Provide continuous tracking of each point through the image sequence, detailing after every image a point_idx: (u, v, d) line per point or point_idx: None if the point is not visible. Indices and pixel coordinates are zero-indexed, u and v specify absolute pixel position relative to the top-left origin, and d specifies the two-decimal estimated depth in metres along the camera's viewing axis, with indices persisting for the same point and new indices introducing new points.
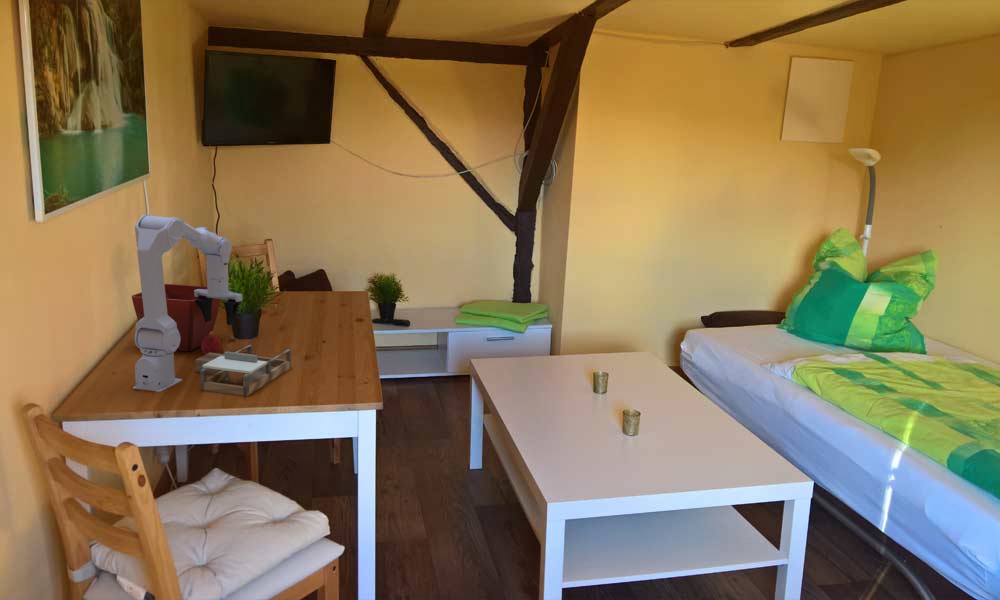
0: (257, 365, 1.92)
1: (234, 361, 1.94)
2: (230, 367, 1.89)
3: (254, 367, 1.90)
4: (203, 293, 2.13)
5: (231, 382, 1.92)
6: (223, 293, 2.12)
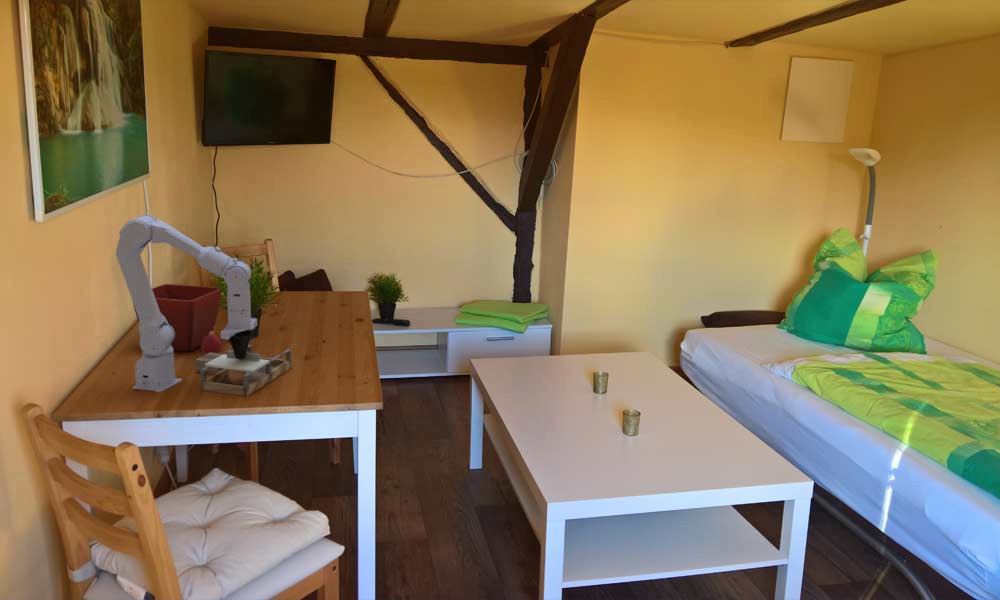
0: (259, 364, 1.93)
1: (236, 360, 1.95)
2: (232, 365, 1.90)
3: (256, 366, 1.91)
4: None
5: (231, 382, 1.92)
6: (229, 326, 1.90)
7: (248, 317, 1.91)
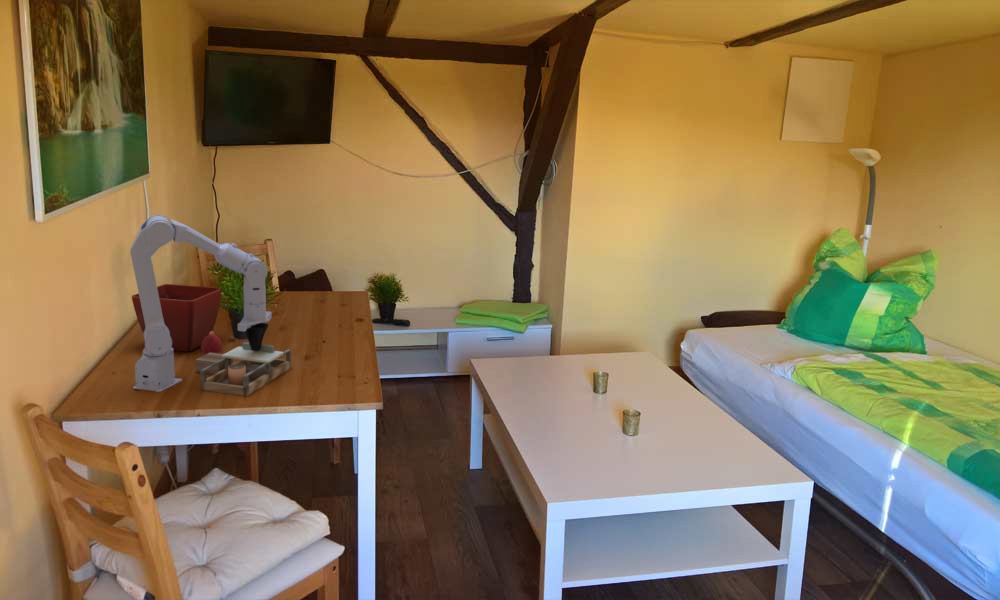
0: (274, 355, 2.00)
1: (252, 351, 2.02)
2: (248, 356, 1.98)
3: (271, 357, 1.99)
4: None
5: (231, 382, 1.92)
6: (245, 319, 1.98)
7: (263, 310, 1.99)
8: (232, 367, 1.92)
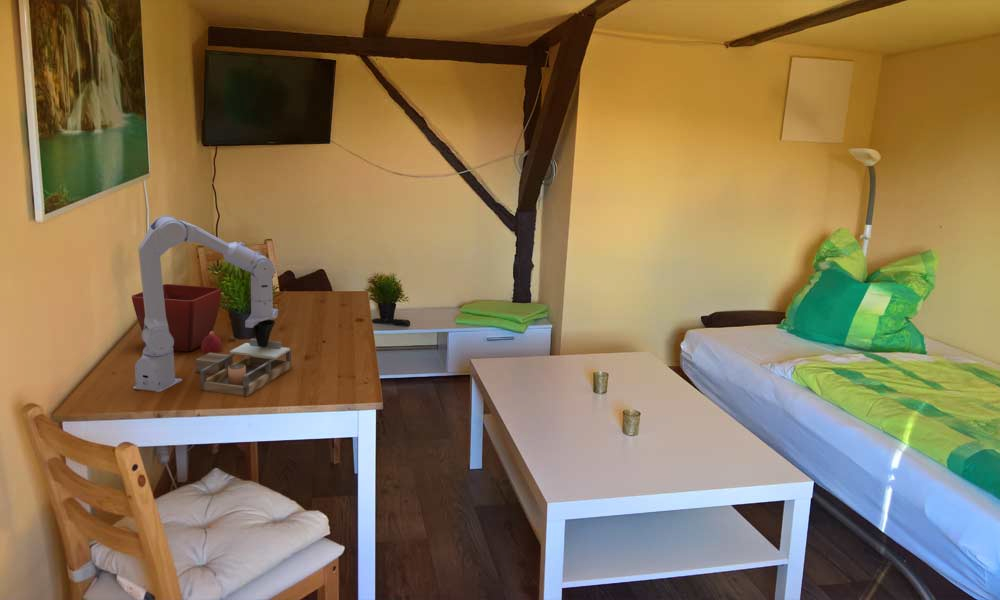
0: (281, 351, 2.04)
1: (259, 347, 2.06)
2: (255, 353, 2.01)
3: (278, 353, 2.02)
4: None
5: (231, 382, 1.92)
6: (253, 315, 2.01)
7: (270, 307, 2.02)
8: (232, 367, 1.92)
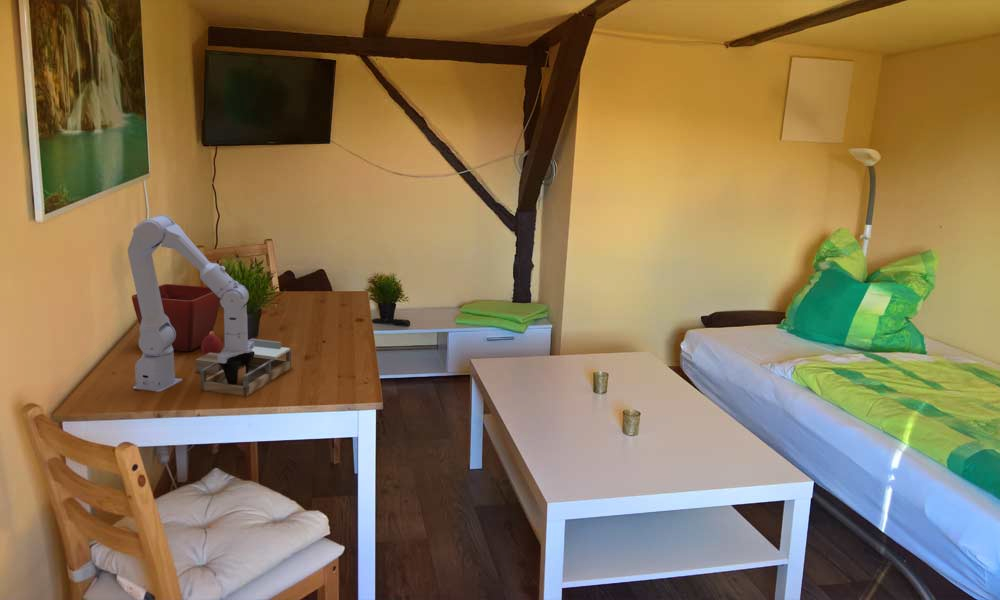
0: (281, 351, 2.04)
1: (259, 347, 2.06)
2: (255, 353, 2.01)
3: (278, 353, 2.02)
4: None
5: None
6: (226, 349, 1.90)
7: (245, 340, 1.91)
8: None
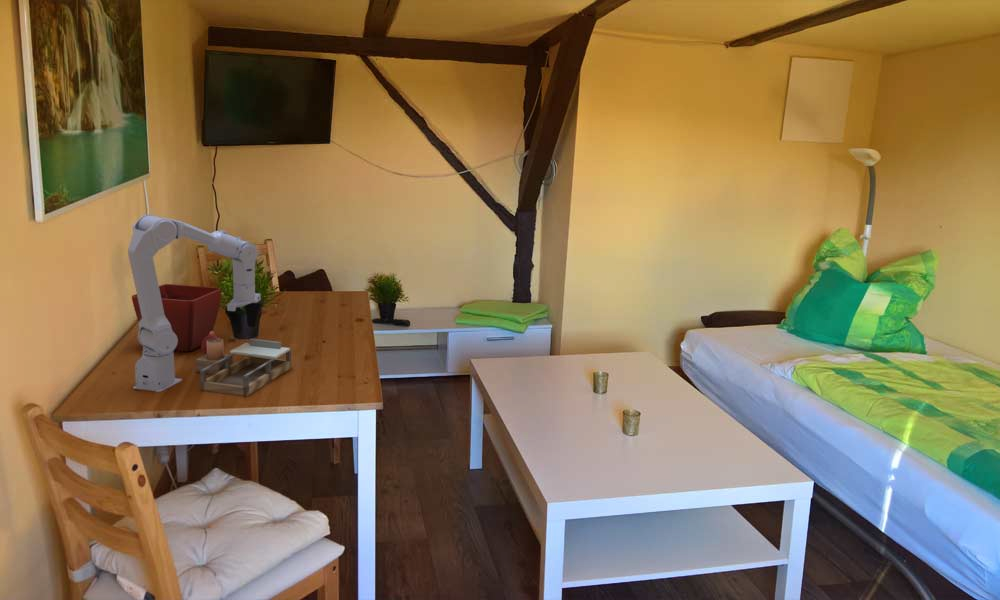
0: (281, 351, 2.04)
1: (259, 347, 2.06)
2: (255, 353, 2.01)
3: (278, 353, 2.02)
4: None
5: (208, 354, 2.02)
6: (235, 299, 2.05)
7: (252, 291, 2.06)
8: (210, 340, 2.02)
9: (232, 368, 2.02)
